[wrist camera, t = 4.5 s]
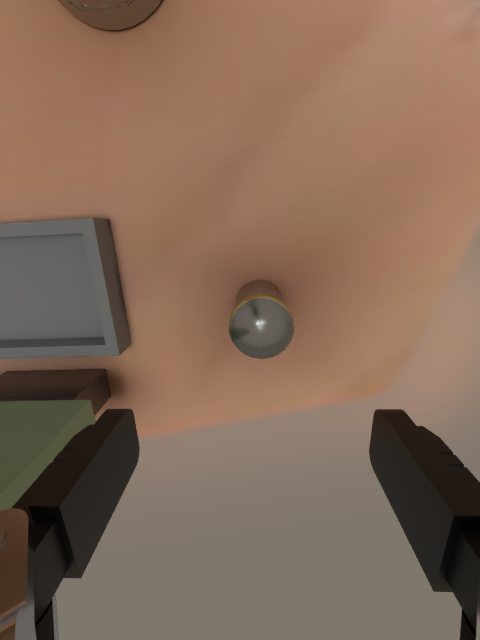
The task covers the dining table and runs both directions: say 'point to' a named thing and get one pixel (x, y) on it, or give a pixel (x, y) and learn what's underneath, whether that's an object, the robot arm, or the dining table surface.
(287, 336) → the pin
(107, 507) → the robot arm
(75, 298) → the parts tray
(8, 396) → the control unit
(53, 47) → the dining table surface
